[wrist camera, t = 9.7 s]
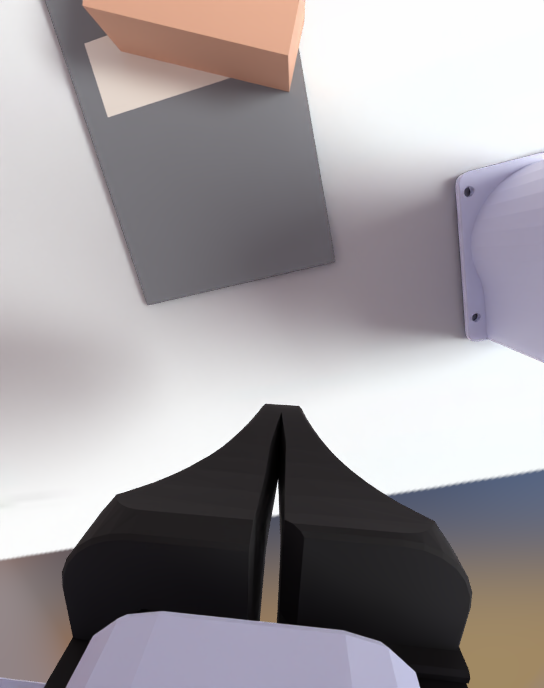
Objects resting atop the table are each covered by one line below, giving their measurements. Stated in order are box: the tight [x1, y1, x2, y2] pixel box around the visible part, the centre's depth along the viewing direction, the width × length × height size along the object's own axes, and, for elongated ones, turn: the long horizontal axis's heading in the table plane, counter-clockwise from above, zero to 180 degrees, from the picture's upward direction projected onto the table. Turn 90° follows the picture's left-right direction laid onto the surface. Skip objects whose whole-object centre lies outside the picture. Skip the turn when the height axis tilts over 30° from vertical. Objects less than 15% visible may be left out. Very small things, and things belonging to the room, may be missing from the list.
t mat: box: [45, 0, 335, 305], centre depth 16 cm, size 20×12×1 cm, turn 13°
